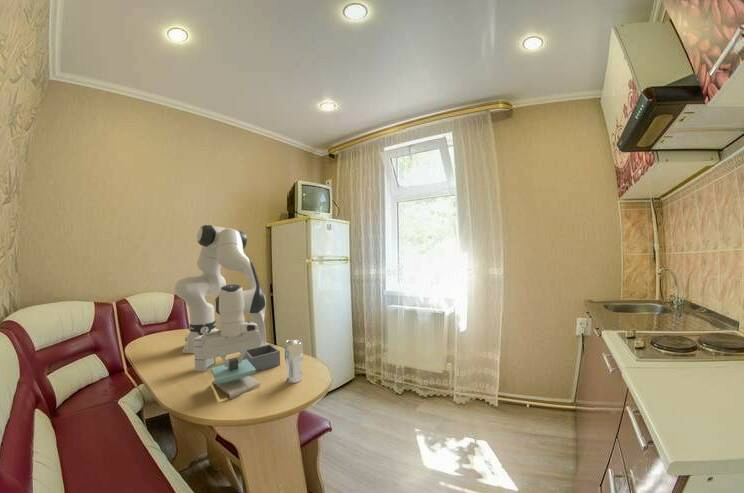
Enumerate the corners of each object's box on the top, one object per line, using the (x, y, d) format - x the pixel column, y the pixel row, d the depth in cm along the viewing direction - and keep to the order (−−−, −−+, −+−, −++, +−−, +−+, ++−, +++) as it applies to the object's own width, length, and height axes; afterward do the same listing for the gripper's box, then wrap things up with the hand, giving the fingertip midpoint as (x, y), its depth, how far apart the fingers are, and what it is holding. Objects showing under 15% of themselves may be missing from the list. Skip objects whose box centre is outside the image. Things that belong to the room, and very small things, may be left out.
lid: (211, 374, 108) (210, 358, 108) (247, 364, 116) (246, 350, 116) (217, 387, 97) (216, 370, 97) (256, 375, 106) (255, 360, 105)
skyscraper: (268, 351, 143) (266, 297, 143) (267, 357, 136) (266, 299, 136) (250, 354, 141) (249, 298, 141) (248, 360, 133) (247, 301, 133)
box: (244, 366, 125) (243, 350, 125) (271, 358, 133) (270, 344, 133) (251, 375, 116) (251, 358, 116) (280, 366, 123) (279, 351, 123)
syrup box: (206, 371, 121) (205, 338, 121) (194, 371, 122) (193, 337, 122) (215, 366, 126) (215, 334, 126) (204, 365, 127) (203, 333, 127)
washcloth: (240, 375, 117) (239, 367, 117) (262, 388, 106) (262, 379, 106) (209, 386, 108) (209, 378, 108) (230, 402, 97) (229, 393, 97)
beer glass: (284, 377, 113) (283, 340, 113) (302, 374, 115) (301, 338, 115) (286, 385, 106) (285, 346, 106) (305, 381, 109) (304, 343, 109)
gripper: (201, 335, 98) (202, 375, 98) (262, 324, 110) (263, 359, 110) (199, 331, 103) (200, 369, 103) (257, 321, 115) (258, 355, 115)
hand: (233, 364), depth 106 cm, fingers closed on lid, 3 cm apart
